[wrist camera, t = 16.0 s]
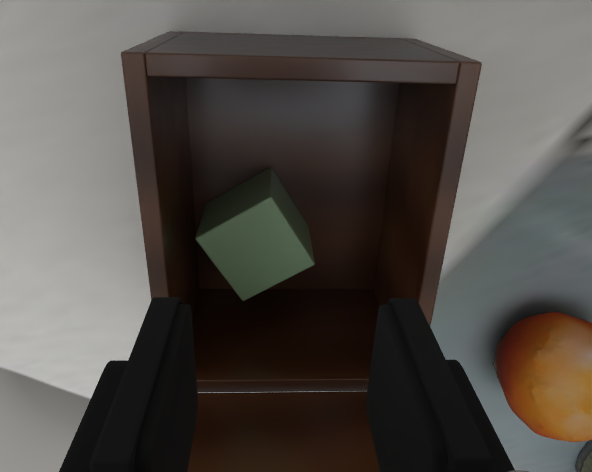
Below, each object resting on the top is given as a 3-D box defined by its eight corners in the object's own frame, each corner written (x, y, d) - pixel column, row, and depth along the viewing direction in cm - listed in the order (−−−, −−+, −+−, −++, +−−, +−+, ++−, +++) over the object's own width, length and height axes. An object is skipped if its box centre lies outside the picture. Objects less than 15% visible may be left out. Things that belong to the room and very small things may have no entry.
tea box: (271, 196, 23) (194, 239, 24) (315, 265, 25) (242, 302, 26) (271, 166, 27) (205, 203, 28) (309, 227, 29) (246, 260, 30)
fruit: (451, 397, 35) (534, 438, 27) (485, 292, 36) (574, 304, 28) (539, 428, 37) (640, 475, 29) (568, 328, 38) (674, 348, 30)
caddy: (168, 30, 24) (120, 51, 16) (416, 38, 25) (482, 62, 17) (189, 292, 31) (162, 393, 24) (382, 292, 32) (418, 391, 24)
